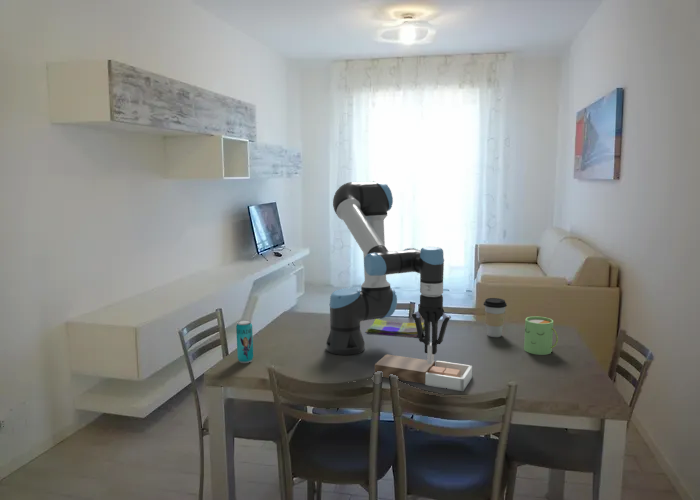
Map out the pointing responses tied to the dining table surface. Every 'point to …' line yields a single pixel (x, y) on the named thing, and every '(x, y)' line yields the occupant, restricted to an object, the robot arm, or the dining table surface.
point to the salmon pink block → (437, 370)
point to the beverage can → (244, 341)
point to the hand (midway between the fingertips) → (430, 362)
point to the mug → (539, 335)
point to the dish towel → (394, 328)
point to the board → (404, 368)
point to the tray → (450, 381)
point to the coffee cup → (494, 316)
